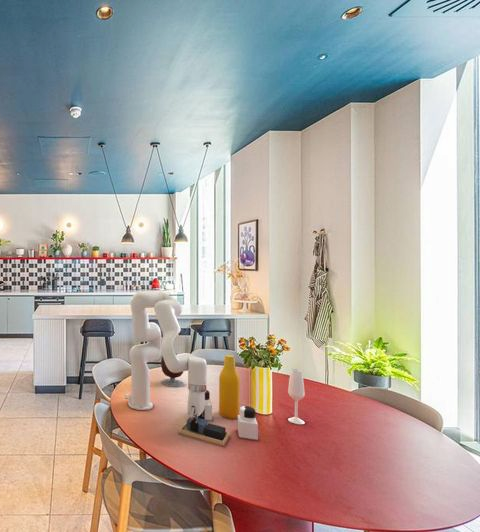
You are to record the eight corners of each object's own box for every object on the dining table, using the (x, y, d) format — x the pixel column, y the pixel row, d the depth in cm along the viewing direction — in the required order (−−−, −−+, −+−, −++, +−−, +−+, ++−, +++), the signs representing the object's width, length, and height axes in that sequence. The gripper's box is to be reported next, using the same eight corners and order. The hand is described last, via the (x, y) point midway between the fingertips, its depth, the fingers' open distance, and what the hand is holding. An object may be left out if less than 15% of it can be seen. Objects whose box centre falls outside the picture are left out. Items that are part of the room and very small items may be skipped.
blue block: (186, 429, 149) (186, 420, 149) (190, 424, 154) (191, 415, 154) (203, 434, 145) (203, 425, 145) (207, 429, 149) (207, 420, 149)
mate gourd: (169, 378, 223) (169, 347, 223) (188, 383, 212) (188, 351, 212) (155, 383, 212) (155, 351, 212) (174, 389, 202) (175, 355, 202)
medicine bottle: (255, 433, 150) (255, 405, 150) (257, 441, 143) (258, 412, 143) (237, 430, 152) (237, 403, 152) (239, 438, 145) (239, 409, 145)
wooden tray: (179, 434, 149) (179, 429, 149) (186, 425, 156) (186, 421, 156) (223, 447, 138) (223, 441, 138) (229, 437, 146) (229, 432, 146)
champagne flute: (307, 425, 158) (307, 372, 158) (291, 423, 159) (291, 371, 159) (301, 418, 164) (301, 368, 164) (285, 417, 166) (285, 367, 166)
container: (212, 421, 161) (212, 393, 161) (194, 419, 162) (194, 392, 162) (209, 414, 168) (209, 388, 168) (192, 413, 170) (192, 386, 170)
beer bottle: (226, 420, 162) (227, 358, 162) (215, 412, 171) (215, 353, 171) (243, 418, 164) (244, 357, 164) (231, 410, 173) (231, 352, 173)
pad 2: (204, 437, 144) (204, 428, 144) (208, 432, 149) (208, 423, 149) (222, 442, 140) (222, 433, 140) (225, 437, 145) (225, 427, 145)
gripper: (194, 379, 158) (194, 418, 158) (181, 390, 144) (181, 433, 144) (211, 383, 154) (211, 423, 154) (199, 394, 140) (199, 439, 140)
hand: (196, 427), depth 149 cm, fingers open, 6 cm apart
